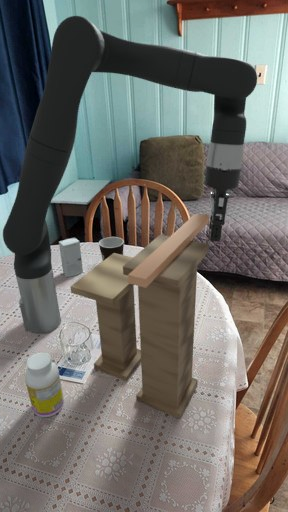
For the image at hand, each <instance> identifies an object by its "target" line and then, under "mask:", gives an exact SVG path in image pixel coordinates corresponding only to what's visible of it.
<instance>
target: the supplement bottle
mask: <svg viewBox="0 0 288 512" xmlns="http://www.w3.org/2000/svg"><path fill="white" fill-rule="evenodd" d="M26 367H27V370H26V372H25V374H24V382H25V384H26V388H27V392H28V397H29V400H30V405H31V408H32V412H33V413H34V414H35V415H36V416H37V417H40V418H49V417H53V416H55V415H57V414H58V413H59V412H60V411H61V410H62V408H63V407H64V403H65V396H64V391H63V387H62V381H61V376H60V371H59V367H58V365H57V364H56V363H54V361H52V356H51V355H50V354H49V353H47V352H37V353H33V354H32V355H31V356H30V357H29V358H28V359H27V360H26Z"/></svg>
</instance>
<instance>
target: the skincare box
mask: <svg viewBox="0 0 288 512" xmlns="http://www.w3.org/2000/svg"><path fill="white" fill-rule="evenodd" d="M80 243H81V242H80V240H78V239H77V238H76V237H71V238H65V239H64V240H60V241H58V245H59V253H60V254H59V255H60V259H61V260H60V261H61V269H62V272H63V274H64V275H65V277H66V278H69V277H73V276H77V275H79V274H82V273H83V272H84V270H83V261H82V252H81V244H80Z"/></svg>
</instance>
